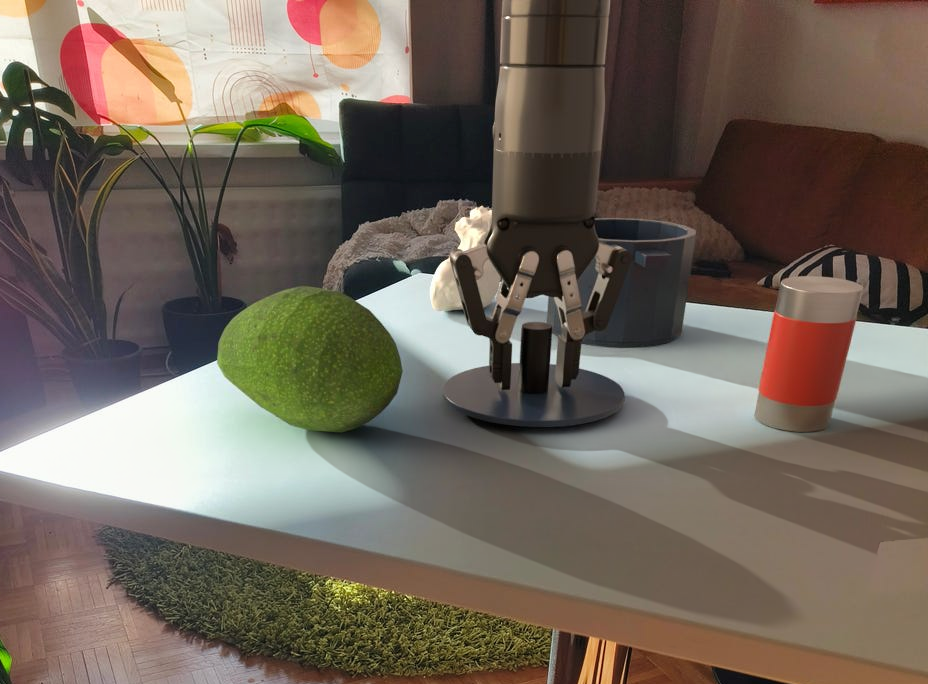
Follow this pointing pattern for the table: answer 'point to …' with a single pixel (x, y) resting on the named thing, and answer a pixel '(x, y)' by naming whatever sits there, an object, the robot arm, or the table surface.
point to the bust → (444, 280)
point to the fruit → (312, 359)
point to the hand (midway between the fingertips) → (533, 384)
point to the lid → (534, 389)
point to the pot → (640, 283)
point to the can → (807, 352)
